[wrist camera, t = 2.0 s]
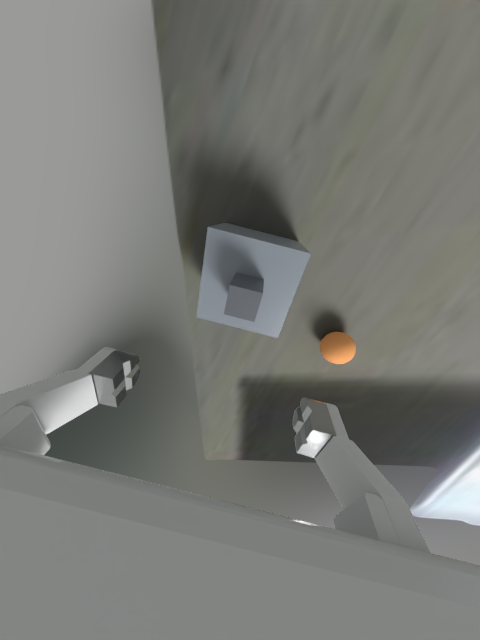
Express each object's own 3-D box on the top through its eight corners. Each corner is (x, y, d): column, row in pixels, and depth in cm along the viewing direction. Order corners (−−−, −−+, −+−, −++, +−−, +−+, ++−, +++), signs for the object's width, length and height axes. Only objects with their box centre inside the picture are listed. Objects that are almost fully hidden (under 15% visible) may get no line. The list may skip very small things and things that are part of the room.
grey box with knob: (298, 241, 26) (320, 262, 15) (275, 307, 31) (279, 359, 20) (225, 222, 26) (193, 230, 15) (213, 291, 31) (184, 335, 20)
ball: (354, 330, 32) (368, 349, 27) (340, 353, 34) (350, 374, 30) (324, 322, 32) (333, 340, 27) (312, 346, 34) (318, 366, 30)
